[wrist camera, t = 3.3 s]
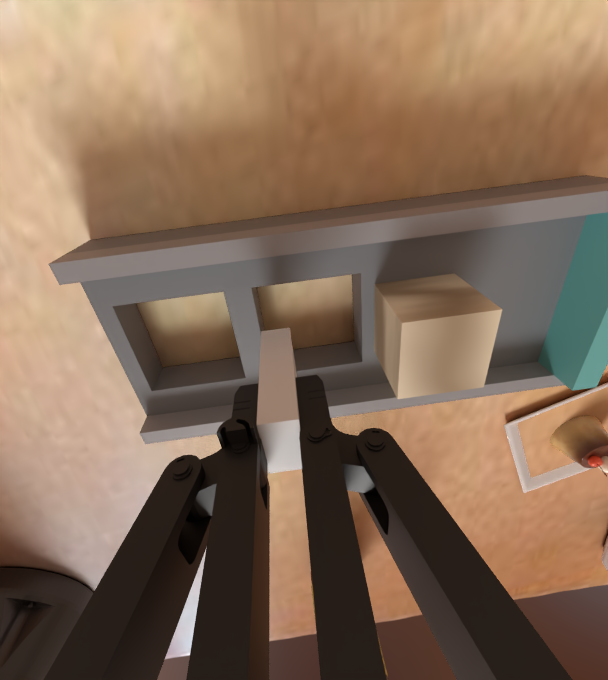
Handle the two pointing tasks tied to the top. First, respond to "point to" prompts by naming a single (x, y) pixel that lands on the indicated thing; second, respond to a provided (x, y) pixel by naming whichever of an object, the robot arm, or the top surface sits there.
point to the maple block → (433, 334)
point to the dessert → (564, 446)
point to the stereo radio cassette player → (605, 554)
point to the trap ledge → (364, 293)
